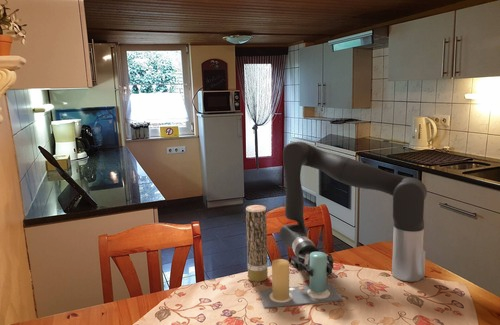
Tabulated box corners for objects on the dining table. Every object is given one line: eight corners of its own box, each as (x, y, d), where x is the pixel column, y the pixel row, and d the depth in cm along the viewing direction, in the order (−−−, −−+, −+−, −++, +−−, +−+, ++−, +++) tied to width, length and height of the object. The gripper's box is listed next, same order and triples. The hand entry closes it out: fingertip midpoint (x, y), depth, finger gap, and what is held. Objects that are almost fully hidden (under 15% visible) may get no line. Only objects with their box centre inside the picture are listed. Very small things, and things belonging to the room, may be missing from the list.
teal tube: (323, 283, 116) (323, 251, 114) (329, 291, 111) (329, 257, 109) (307, 285, 115) (307, 252, 113) (312, 293, 110) (312, 259, 108)
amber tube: (287, 291, 114) (286, 258, 113) (291, 299, 109) (290, 265, 107) (271, 292, 114) (270, 259, 112) (274, 301, 109) (273, 267, 107)
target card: (331, 284, 119) (331, 283, 119) (343, 300, 109) (343, 298, 109) (259, 291, 116) (259, 289, 116) (264, 308, 106) (264, 306, 106)
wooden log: (268, 273, 128) (266, 204, 124) (267, 282, 121) (265, 210, 117) (249, 273, 128) (246, 204, 124) (246, 282, 122) (244, 210, 118)
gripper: (284, 241, 124) (297, 263, 108) (325, 238, 126) (344, 259, 109) (285, 262, 125) (298, 286, 109) (324, 258, 127) (343, 282, 111)
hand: (321, 272), depth 109 cm, fingers closed on teal tube, 5 cm apart
